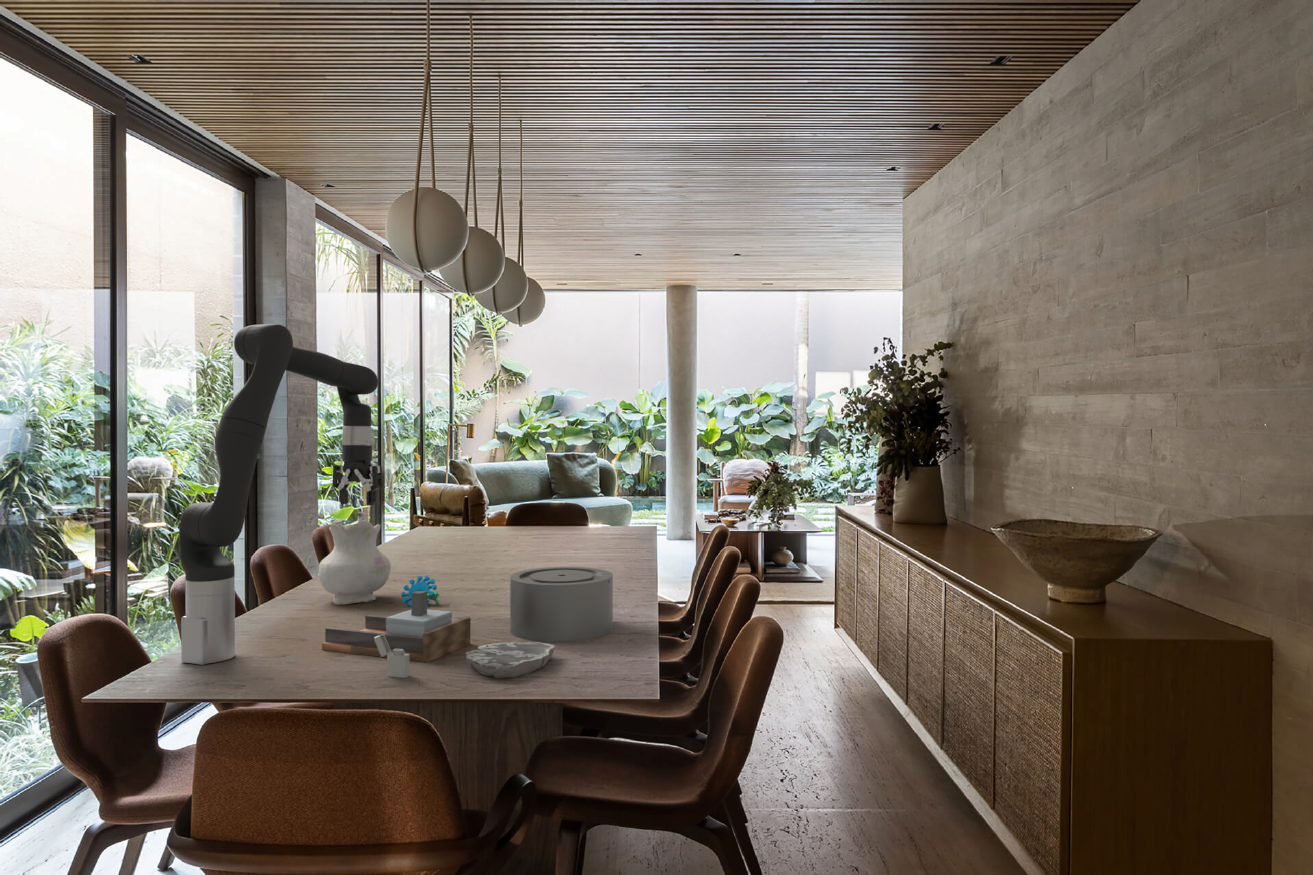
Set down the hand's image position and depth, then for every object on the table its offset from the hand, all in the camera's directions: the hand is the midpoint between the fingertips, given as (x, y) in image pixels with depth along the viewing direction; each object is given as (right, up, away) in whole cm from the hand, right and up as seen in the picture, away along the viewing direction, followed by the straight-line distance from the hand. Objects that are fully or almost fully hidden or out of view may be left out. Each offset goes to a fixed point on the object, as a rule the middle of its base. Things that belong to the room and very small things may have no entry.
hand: (357, 504), depth 215 cm
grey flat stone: (+48, -30, -47) cm, 74 cm away
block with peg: (+26, -28, -34) cm, 51 cm away
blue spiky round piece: (+13, -29, +13) cm, 35 cm away
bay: (+21, -29, -32) cm, 48 cm away
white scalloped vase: (-8, -29, +20) cm, 36 cm away
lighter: (+27, -30, -53) cm, 67 cm away
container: (+56, -30, -15) cm, 65 cm away
